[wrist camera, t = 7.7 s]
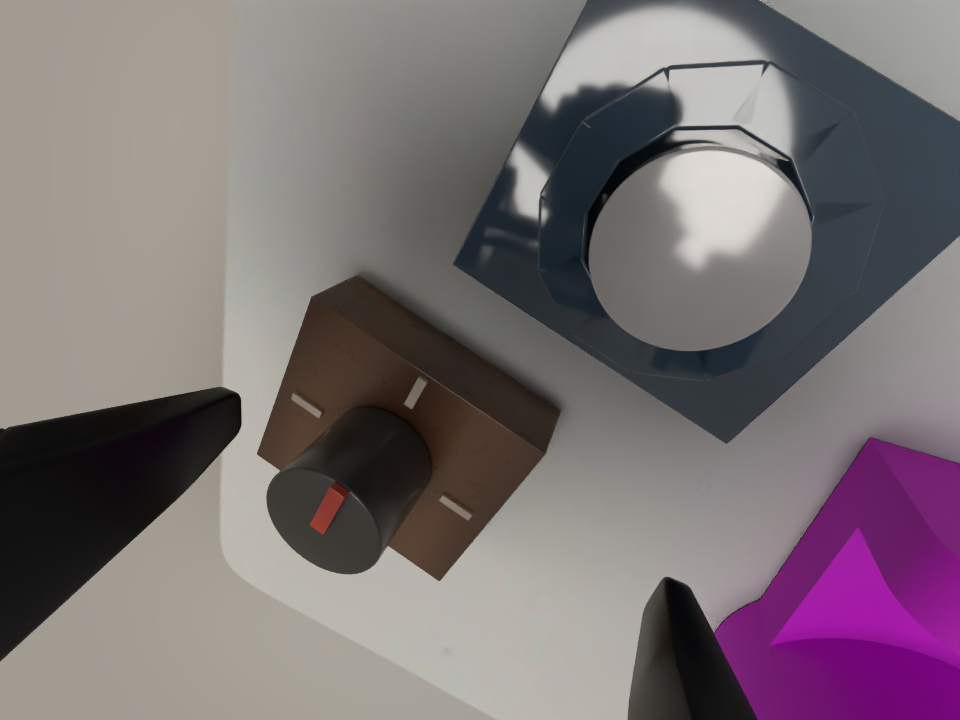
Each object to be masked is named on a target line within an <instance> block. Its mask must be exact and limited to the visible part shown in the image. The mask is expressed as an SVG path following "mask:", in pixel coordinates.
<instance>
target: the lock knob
mask: <svg viewBox="0 0 960 720" xmlns="http://www.w3.org/2000/svg"><path fill="white" fill-rule="evenodd" d="M430 476H431V461H430V457H429V453H428V451H427V448H426V446H425V445H424V443H423V441H422V440H421V438H420V437H419V435H418V434H417V433H416V432H415V431H414V429H412V428H411V427H410V426H409V425H408V424H407V423H406V422H404V421H403V420H402V419H400V418H399V417H397V416H395V415H393V414H391V413H389V412H386V411H384V410H380V409H376V408H358V409H354V410H351V411H349V412H347V413H345V414H344V415H343V416H341V417H340V418H339V419H338V420H337V421H336V422H335V423H333V424H332V425H331V426H330V427H329V428H328V429H327V430H326V431H325V432H323V433H322V434H321V435H320V436H319V437H318V438H317V439H316V440H314V441H313V442H312V443H311V444H310V445H309V446H308V447H307V448H306V449H304V450H303V451H302V452H301V453H300V454H299V455H298V456H297V457H296V458H294V459H293V460H292V461H291V462H290V463H289V464H288V465H287V466H285V467H284V468H283V469H282V470H281V471H280V472H279V473H278V474H277V475H275V477H274V478H273V479H272V481H271V482H270V484H269V487H268V490H267V497H266V499H267V508H268V512H269V515H270V517H271V520H272V522H273V524H274V526H275V528H276V529H277V531H278V532H279V534H280V535H281V536H282V538H283V539H284V540H285V541H286V542H287V544H288V545H289V546H290V547H291V548H292V549H293V550H295V551H296V552H297V553H298V554H299V555H301V556H302V557H303V558H305V559H306V560H308V561H309V562H311V563H313V564H314V565H316V566H318V567H320V568H323V569H325V570H328V571H331V572H335V573H340V574H358V573H361V572H364V571H366V570H368V569H370V568H371V567H372V566H374V565H375V564H376V562H377V561H378V560H379V558H380V557H381V555H382V554H383V552H384V551H385V549H386V548H387V546H388V545H389V543H390V542H391V540H392V539H393V537H394V536H395V534H396V533H397V531H398V530H399V528H400V526H401V525H402V523H403V522H404V520H405V519H406V517H407V516H408V514H409V513H410V511H411V510H412V508H413V507H414V505H415V504H416V502H417V501H418V499H419V498H420V496H421V495H422V493H423V492H424V490H425V489H426V487H427V485H428V483H429V480H430Z"/></svg>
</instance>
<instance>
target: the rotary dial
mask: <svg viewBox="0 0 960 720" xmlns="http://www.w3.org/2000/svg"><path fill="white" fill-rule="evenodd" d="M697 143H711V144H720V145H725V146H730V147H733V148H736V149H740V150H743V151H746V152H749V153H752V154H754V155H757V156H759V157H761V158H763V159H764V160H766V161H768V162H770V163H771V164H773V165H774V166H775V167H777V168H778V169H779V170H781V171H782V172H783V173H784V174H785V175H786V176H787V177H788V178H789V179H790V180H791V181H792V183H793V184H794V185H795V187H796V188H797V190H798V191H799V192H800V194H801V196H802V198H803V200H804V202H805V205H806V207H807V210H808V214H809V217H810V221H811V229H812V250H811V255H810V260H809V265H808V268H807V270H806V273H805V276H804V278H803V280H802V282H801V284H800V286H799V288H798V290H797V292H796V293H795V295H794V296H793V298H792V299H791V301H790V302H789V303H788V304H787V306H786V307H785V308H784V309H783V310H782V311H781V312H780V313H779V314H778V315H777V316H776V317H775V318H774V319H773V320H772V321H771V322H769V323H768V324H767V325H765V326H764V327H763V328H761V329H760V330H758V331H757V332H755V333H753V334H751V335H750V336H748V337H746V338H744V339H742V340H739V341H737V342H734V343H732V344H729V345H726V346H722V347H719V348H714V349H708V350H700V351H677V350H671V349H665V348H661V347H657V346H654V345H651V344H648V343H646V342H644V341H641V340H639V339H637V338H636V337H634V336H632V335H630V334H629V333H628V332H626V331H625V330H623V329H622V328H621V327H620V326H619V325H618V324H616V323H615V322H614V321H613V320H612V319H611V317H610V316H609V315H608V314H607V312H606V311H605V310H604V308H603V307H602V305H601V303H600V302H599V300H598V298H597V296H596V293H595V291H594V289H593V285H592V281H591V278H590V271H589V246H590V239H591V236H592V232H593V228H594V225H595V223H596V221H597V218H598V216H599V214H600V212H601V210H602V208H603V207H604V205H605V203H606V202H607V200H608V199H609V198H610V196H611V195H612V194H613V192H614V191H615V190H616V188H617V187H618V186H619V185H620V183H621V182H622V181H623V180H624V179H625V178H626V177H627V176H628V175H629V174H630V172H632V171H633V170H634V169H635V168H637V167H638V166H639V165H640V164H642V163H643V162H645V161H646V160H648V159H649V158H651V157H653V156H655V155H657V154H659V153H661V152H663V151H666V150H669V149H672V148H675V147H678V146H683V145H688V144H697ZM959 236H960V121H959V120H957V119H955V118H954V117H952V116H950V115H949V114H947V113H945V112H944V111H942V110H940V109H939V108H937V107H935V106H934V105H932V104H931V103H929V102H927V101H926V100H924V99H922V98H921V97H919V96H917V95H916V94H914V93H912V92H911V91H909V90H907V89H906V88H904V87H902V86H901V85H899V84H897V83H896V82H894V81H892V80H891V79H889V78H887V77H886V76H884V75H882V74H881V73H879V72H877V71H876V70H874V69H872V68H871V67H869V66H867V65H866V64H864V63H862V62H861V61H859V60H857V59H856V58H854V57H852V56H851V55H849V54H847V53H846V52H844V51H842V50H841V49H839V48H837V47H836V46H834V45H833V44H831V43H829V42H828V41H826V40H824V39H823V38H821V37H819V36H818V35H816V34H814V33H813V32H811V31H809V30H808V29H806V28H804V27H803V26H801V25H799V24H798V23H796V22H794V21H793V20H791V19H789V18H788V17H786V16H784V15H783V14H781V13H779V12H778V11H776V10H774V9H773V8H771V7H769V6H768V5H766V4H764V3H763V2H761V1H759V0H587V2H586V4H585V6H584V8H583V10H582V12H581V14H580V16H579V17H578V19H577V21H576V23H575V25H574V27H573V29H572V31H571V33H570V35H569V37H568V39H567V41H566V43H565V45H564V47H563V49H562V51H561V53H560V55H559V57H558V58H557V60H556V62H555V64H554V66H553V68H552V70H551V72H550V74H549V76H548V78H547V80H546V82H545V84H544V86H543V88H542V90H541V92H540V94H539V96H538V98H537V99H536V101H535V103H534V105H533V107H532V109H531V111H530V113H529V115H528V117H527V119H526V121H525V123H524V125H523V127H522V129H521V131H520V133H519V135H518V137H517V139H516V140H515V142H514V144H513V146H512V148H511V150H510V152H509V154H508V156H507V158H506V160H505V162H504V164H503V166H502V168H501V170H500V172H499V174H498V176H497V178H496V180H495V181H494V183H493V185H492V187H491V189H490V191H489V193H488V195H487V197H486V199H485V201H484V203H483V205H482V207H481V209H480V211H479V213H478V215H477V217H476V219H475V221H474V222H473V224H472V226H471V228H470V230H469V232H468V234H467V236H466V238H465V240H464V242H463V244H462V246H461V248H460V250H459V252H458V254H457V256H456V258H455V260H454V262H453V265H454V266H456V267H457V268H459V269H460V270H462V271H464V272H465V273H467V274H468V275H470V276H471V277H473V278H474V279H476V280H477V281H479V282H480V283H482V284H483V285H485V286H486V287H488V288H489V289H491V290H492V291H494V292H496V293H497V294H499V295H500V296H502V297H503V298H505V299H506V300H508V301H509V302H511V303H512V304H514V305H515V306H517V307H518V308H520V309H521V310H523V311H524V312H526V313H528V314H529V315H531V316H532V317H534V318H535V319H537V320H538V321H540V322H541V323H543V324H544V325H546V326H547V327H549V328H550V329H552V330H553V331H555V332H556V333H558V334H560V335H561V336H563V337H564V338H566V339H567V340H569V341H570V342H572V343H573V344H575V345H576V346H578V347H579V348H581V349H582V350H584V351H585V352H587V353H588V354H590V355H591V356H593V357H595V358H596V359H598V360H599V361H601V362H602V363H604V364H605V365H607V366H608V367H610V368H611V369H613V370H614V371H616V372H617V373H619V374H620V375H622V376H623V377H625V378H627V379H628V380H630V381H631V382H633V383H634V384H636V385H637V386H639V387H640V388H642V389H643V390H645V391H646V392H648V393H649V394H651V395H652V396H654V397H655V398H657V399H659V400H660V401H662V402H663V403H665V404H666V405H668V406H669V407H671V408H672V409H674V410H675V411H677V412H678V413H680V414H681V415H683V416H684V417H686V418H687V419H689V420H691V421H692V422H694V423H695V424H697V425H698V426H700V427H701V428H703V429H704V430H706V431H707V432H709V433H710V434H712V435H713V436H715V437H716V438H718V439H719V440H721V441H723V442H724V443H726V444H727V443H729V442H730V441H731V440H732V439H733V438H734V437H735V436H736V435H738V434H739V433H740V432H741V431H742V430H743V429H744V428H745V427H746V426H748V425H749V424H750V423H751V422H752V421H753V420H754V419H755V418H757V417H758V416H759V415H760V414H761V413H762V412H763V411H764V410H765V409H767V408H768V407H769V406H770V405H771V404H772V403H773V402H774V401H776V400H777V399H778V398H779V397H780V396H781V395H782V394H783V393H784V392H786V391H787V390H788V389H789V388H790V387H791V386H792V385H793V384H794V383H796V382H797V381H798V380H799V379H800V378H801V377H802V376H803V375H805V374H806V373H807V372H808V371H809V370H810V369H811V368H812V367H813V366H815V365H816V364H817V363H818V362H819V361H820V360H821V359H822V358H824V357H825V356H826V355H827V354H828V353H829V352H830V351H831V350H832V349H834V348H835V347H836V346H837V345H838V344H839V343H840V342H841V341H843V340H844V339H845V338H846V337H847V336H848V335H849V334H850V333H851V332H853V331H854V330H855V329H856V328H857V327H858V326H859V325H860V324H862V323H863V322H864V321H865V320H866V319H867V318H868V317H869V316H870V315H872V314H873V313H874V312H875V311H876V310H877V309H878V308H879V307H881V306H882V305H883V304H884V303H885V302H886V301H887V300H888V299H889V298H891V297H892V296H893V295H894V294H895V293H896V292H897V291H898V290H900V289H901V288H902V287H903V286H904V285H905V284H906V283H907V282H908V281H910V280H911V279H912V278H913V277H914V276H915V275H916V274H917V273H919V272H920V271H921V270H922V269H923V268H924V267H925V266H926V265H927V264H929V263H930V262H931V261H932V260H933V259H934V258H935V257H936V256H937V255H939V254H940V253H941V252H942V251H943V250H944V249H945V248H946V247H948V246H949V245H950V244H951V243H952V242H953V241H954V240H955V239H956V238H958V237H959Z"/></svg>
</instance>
